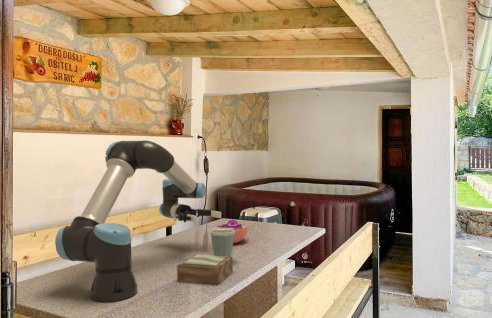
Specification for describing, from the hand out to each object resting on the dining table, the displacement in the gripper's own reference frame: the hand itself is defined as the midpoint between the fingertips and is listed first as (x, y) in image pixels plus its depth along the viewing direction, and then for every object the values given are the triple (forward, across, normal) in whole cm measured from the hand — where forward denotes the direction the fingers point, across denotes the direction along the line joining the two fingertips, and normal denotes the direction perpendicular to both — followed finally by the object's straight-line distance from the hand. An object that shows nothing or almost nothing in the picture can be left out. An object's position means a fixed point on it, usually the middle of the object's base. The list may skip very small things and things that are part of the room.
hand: (208, 217), depth 179 cm
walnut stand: (+20, +17, -18) cm, 32 cm away
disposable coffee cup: (+10, 0, -19) cm, 21 cm away
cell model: (-16, -27, -19) cm, 37 cm away
